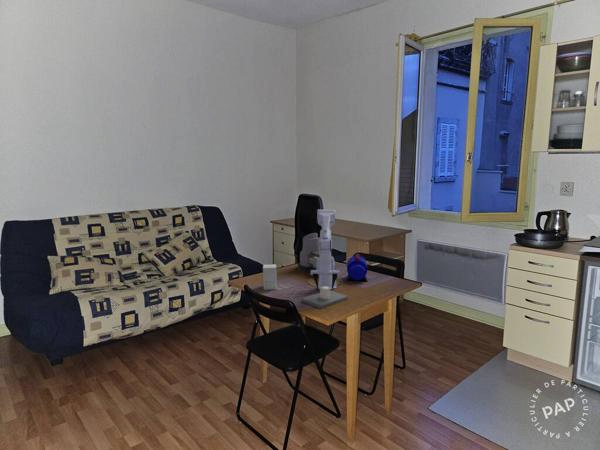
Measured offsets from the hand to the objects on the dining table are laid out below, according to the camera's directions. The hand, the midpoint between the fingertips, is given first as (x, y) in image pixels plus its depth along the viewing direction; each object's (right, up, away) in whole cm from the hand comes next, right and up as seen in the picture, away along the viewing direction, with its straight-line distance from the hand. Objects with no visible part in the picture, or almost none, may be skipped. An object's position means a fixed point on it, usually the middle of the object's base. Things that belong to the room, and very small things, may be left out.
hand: (324, 288), depth 213 cm
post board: (0, -6, +1) cm, 6 cm away
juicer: (-3, +3, +56) cm, 56 cm away
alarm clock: (+21, 0, +37) cm, 42 cm away
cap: (0, -5, +1) cm, 5 cm away
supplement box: (-30, -3, +21) cm, 37 cm away
